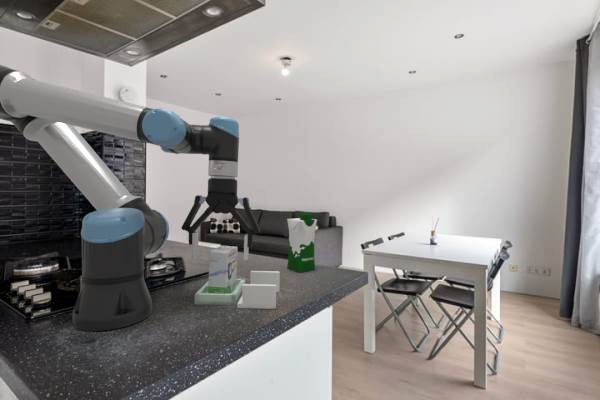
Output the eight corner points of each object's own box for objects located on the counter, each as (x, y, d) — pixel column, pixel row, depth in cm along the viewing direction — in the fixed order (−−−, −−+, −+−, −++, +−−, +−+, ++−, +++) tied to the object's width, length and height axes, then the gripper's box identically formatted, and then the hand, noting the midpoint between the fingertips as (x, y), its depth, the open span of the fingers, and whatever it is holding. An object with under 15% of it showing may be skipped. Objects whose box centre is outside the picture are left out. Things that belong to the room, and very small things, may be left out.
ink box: (219, 286, 90) (220, 245, 90) (237, 287, 90) (238, 245, 89) (207, 296, 82) (207, 250, 81) (226, 298, 81) (227, 251, 81)
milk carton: (299, 273, 108) (300, 214, 107) (283, 268, 115) (284, 212, 114) (318, 270, 114) (319, 213, 113) (302, 265, 121) (303, 212, 120)
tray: (194, 304, 79) (194, 294, 78) (210, 286, 93) (210, 278, 92) (235, 305, 78) (235, 295, 78) (245, 287, 92) (245, 278, 92)
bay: (237, 308, 77) (237, 285, 77) (246, 290, 90) (247, 270, 90) (275, 308, 77) (275, 286, 77) (279, 290, 90) (279, 271, 90)
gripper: (169, 175, 81) (167, 259, 81) (268, 179, 80) (265, 263, 81) (181, 176, 88) (178, 253, 89) (271, 180, 88) (268, 257, 89)
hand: (220, 258), depth 85 cm, fingers open, 13 cm apart
